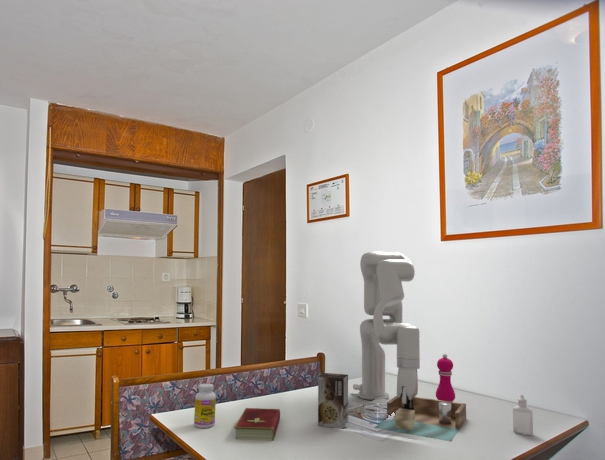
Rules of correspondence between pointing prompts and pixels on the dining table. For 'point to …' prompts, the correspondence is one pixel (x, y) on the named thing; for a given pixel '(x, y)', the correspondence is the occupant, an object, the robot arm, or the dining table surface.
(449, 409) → the steel peg
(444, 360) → the pepper mill
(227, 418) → the dining table surface
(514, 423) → the eye dropper bottle
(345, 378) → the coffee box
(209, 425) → the supplement bottle
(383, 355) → the robot arm
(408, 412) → the birch block
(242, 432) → the hardcover book
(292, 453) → the dining table surface
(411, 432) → the cubby
